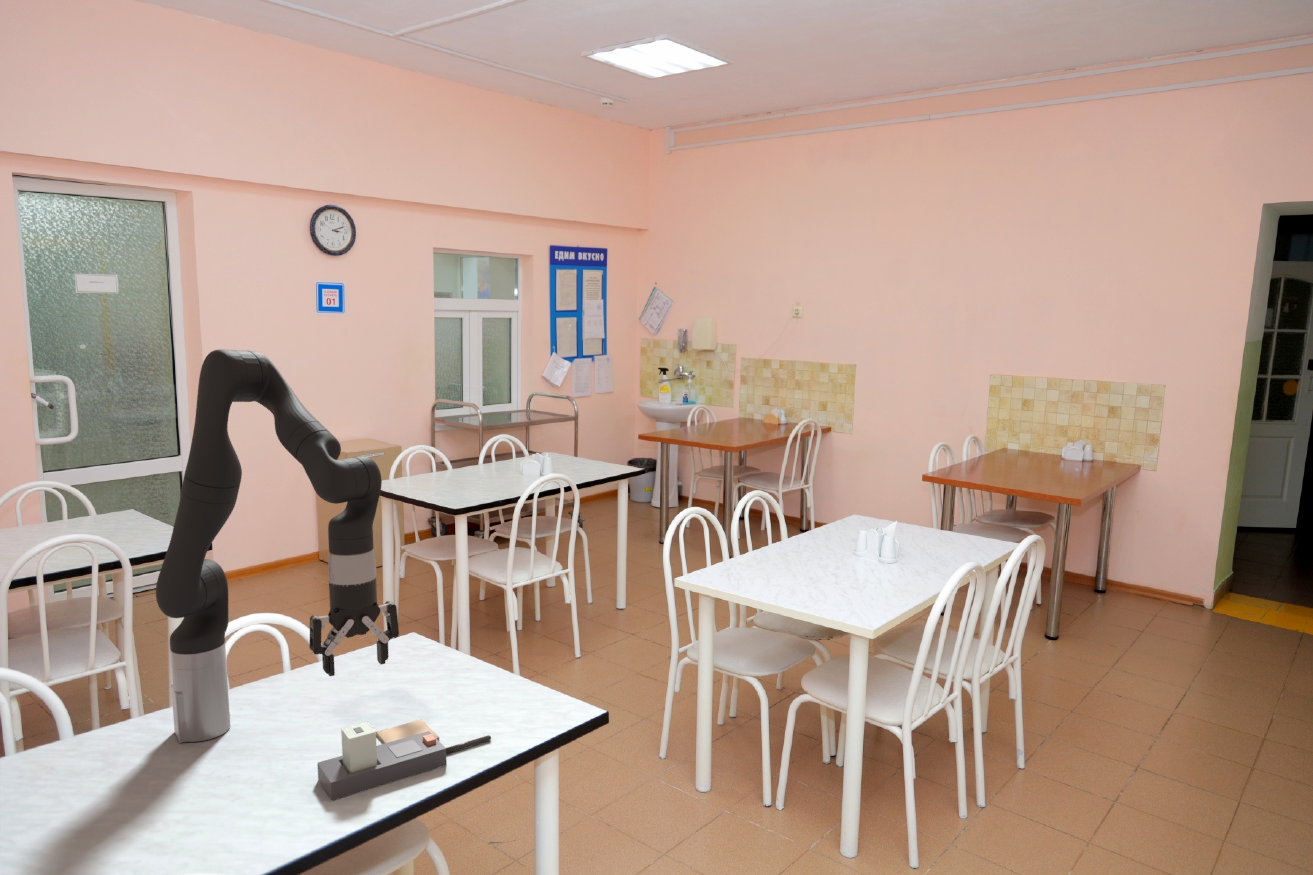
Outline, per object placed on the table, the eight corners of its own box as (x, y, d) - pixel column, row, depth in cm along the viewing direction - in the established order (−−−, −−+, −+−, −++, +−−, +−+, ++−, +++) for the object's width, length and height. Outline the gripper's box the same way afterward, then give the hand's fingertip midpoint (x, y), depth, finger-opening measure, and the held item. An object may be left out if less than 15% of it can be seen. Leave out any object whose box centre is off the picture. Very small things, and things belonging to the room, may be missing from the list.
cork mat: (392, 753, 158) (392, 750, 158) (376, 734, 166) (376, 731, 166) (439, 740, 164) (439, 737, 164) (421, 722, 171) (421, 719, 171)
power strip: (331, 800, 143) (330, 778, 142) (318, 779, 149) (317, 758, 149) (500, 748, 161) (499, 727, 160) (481, 731, 167) (481, 712, 167)
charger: (350, 777, 146) (349, 738, 145) (342, 766, 150) (341, 728, 149) (377, 770, 149) (375, 731, 148) (368, 759, 152) (367, 721, 151)
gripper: (386, 564, 152) (390, 652, 154) (302, 578, 144) (306, 671, 146) (402, 574, 146) (405, 666, 148) (314, 589, 138) (319, 686, 140)
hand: (356, 668), depth 147 cm, fingers open, 8 cm apart
